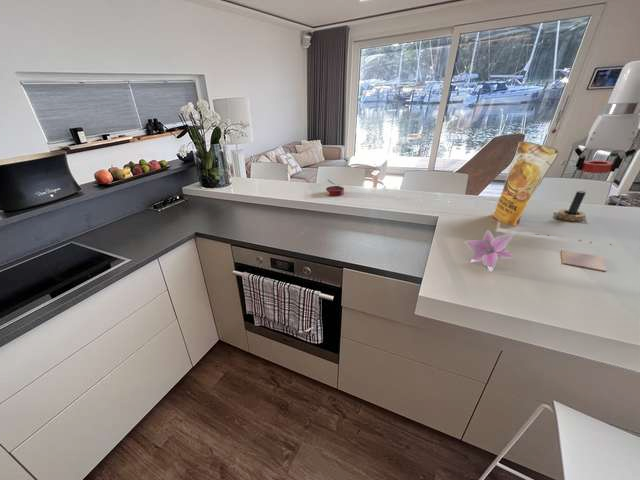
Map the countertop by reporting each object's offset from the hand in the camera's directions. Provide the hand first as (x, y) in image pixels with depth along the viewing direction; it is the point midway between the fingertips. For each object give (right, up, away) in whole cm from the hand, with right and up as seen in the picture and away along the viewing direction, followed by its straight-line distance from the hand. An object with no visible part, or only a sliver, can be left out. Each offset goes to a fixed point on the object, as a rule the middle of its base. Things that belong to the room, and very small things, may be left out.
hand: (595, 169), depth 95 cm
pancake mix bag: (-16, -15, +17) cm, 27 cm away
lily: (-42, -31, -7) cm, 53 cm away
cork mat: (-16, -31, -11) cm, 36 cm away
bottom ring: (+4, -14, +12) cm, 19 cm away
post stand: (+4, -15, +13) cm, 20 cm away
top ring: (0, 0, 0) cm, 0 cm away
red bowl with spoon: (-74, +8, +66) cm, 99 cm away
